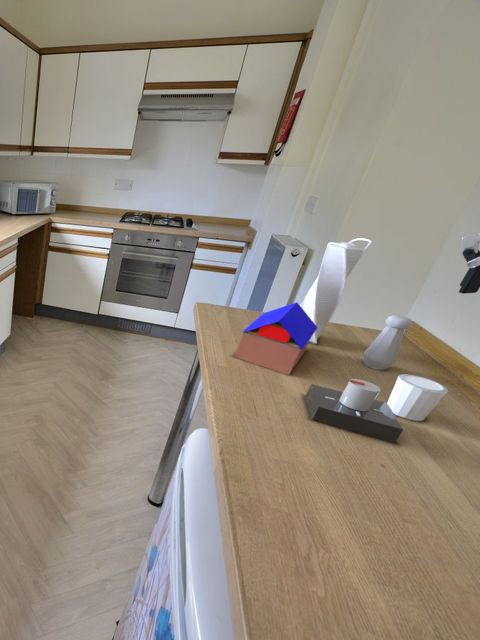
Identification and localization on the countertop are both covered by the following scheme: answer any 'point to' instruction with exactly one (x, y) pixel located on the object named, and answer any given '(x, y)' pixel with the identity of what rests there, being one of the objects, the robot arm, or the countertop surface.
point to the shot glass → (415, 396)
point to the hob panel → (353, 414)
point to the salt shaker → (387, 343)
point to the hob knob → (359, 395)
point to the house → (277, 338)
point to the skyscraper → (330, 283)
